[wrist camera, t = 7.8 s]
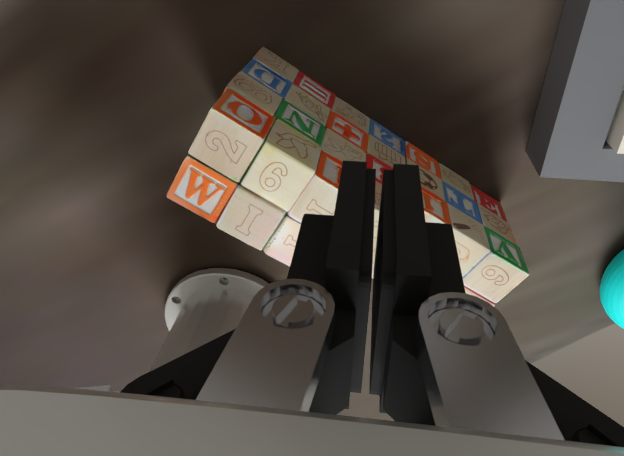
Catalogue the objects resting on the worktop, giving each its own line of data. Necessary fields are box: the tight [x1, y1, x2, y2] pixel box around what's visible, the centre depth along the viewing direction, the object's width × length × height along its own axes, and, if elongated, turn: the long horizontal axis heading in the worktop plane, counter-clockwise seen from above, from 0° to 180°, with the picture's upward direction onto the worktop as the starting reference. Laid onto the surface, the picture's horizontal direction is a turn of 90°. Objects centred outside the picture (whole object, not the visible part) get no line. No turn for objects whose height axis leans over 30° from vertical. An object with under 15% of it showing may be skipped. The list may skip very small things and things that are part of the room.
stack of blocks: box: [167, 47, 529, 306], centre depth 33 cm, size 21×6×12 cm, turn 59°
